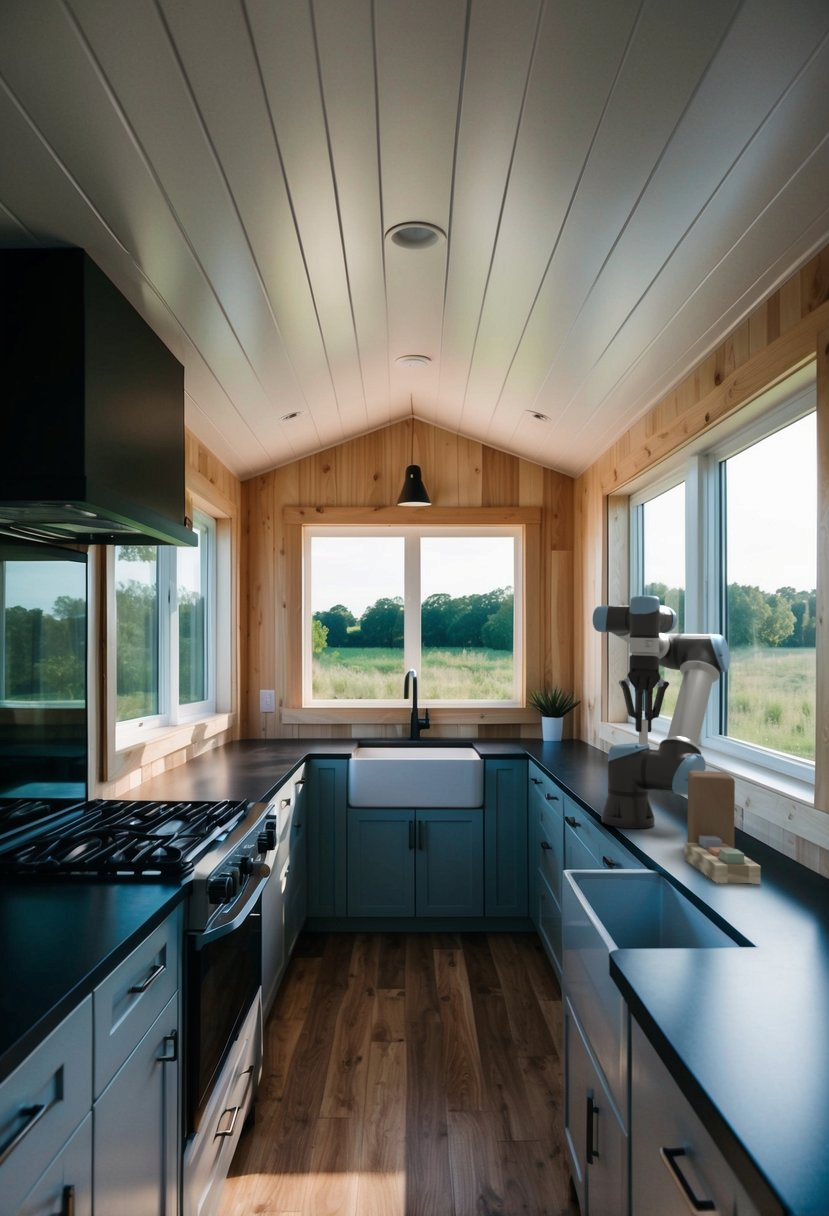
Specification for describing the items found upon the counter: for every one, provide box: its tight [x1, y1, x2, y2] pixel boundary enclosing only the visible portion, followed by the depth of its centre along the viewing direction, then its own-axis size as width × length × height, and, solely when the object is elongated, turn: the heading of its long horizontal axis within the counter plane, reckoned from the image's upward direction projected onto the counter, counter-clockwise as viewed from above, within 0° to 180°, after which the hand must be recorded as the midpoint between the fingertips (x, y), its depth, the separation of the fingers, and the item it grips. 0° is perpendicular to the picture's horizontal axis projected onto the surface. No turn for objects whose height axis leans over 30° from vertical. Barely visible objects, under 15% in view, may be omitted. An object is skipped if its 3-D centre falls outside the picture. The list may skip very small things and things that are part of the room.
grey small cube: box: [699, 836, 722, 849], centre depth 189 cm, size 4×4×4 cm
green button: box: [719, 848, 745, 864], centre depth 177 cm, size 4×4×4 cm
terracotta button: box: [709, 847, 727, 856], centre depth 183 cm, size 4×4×4 cm
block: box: [686, 770, 736, 849], centre depth 199 cm, size 10×10×20 cm
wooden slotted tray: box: [684, 842, 762, 885], centre depth 183 cm, size 19×10×4 cm, turn 1°
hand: (643, 744), depth 205 cm, fingers closed
